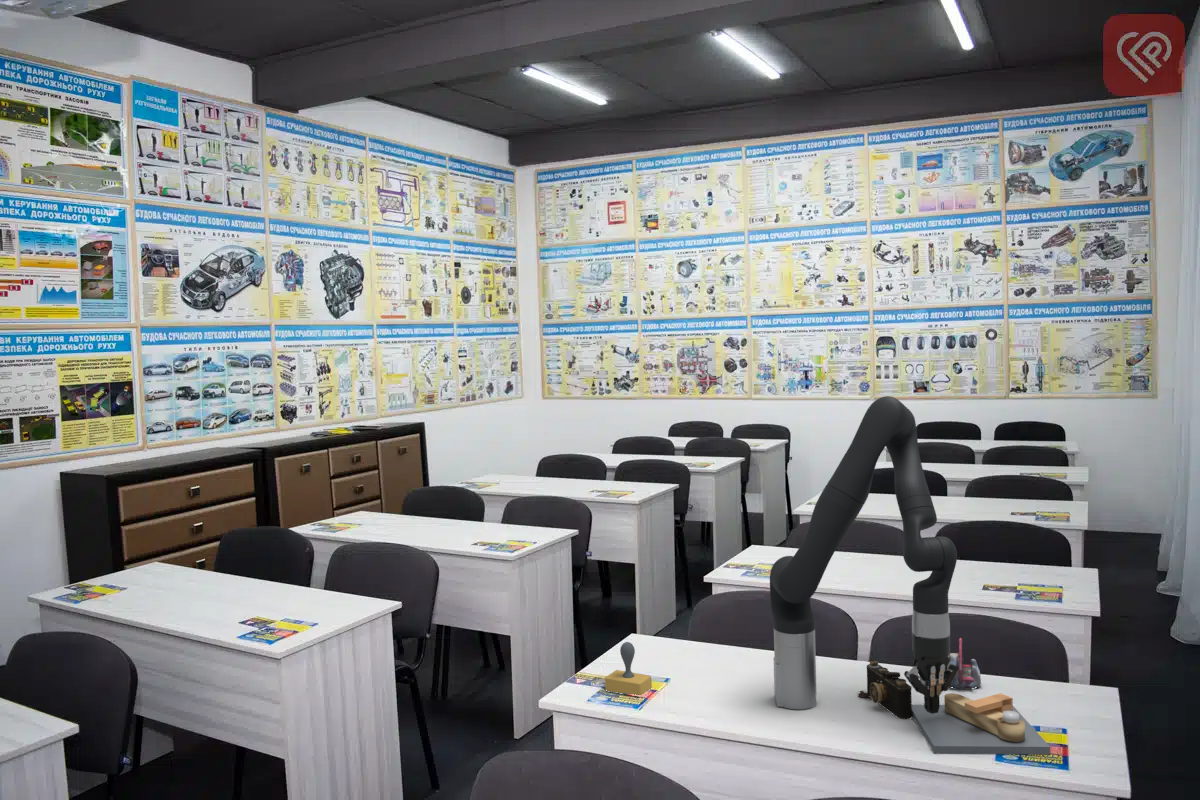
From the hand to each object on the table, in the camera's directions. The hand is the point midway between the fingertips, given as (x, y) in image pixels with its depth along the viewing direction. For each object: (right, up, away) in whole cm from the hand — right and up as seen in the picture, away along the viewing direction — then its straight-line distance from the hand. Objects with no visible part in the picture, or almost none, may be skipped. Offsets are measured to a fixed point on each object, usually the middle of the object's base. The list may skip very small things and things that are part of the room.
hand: (931, 711), depth 191 cm
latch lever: (+9, -1, -3) cm, 10 cm away
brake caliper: (+15, -2, +24) cm, 28 cm away
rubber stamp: (-63, -5, +27) cm, 69 cm away
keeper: (+10, -2, -4) cm, 11 cm away
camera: (-6, -3, +13) cm, 14 cm away
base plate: (+8, -3, -3) cm, 9 cm away
